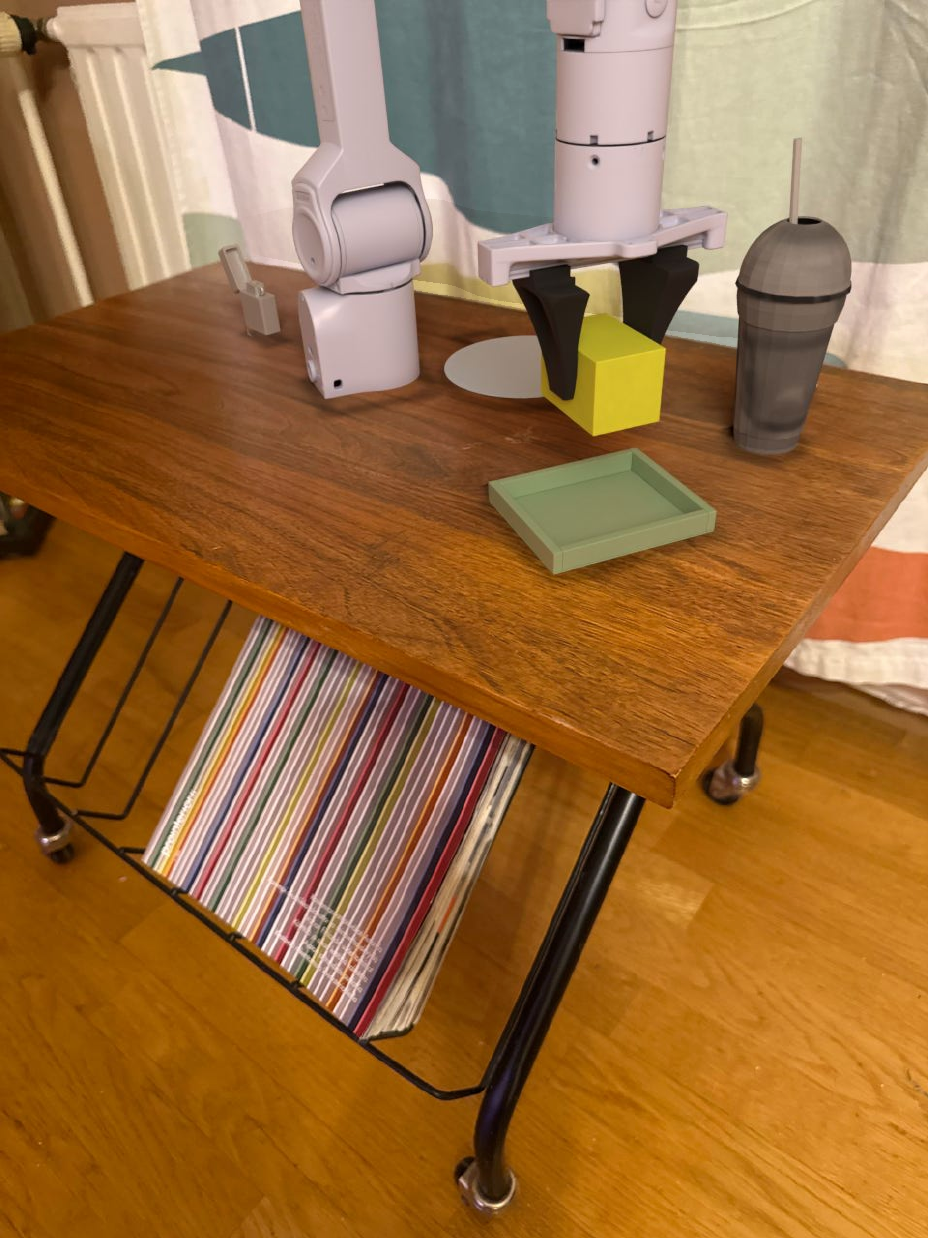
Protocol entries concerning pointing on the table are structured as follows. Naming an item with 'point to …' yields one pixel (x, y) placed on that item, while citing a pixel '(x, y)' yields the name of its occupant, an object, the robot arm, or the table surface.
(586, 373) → the sponge
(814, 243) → the beverage cup
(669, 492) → the sponge dish
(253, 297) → the lighter
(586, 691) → the table surface
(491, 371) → the plate
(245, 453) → the table surface
